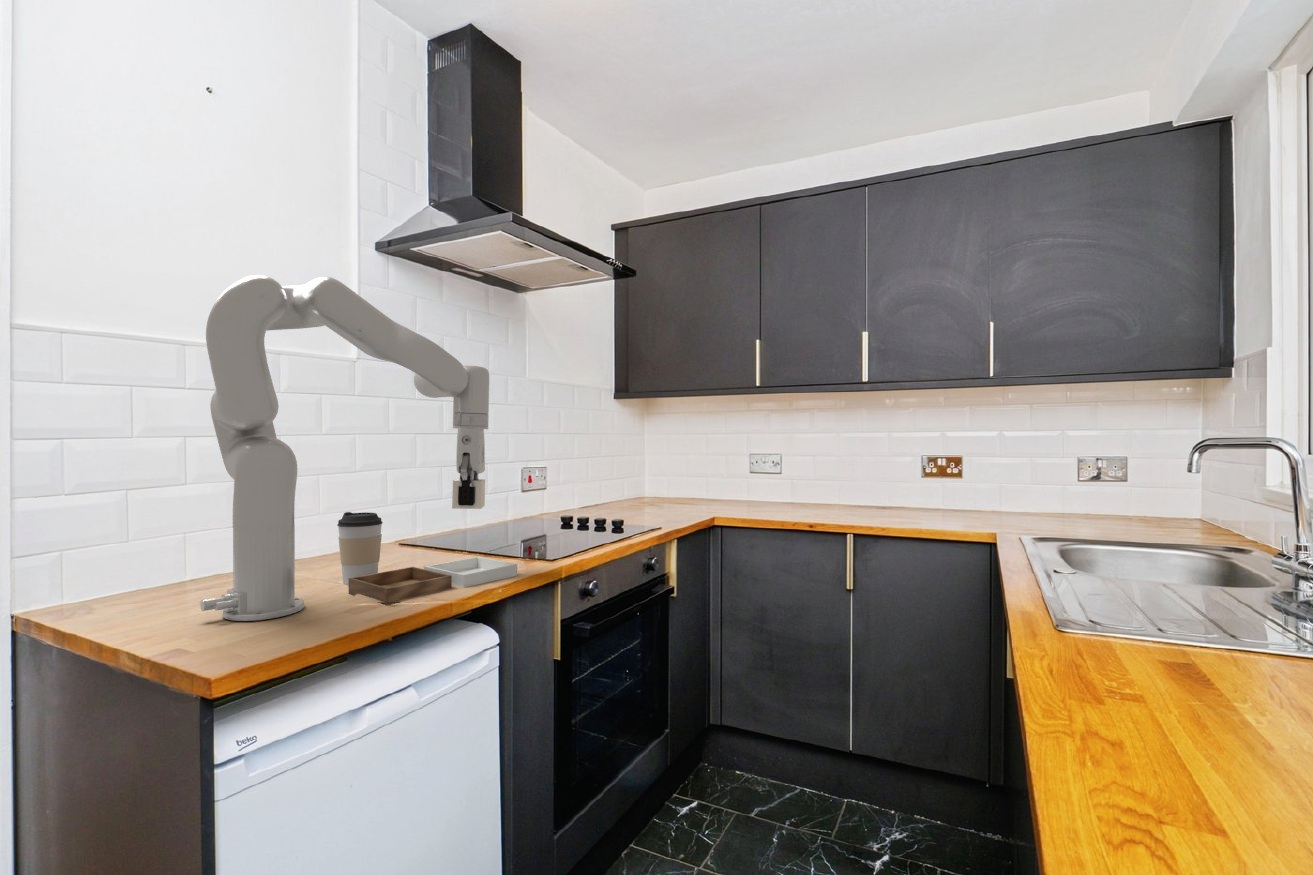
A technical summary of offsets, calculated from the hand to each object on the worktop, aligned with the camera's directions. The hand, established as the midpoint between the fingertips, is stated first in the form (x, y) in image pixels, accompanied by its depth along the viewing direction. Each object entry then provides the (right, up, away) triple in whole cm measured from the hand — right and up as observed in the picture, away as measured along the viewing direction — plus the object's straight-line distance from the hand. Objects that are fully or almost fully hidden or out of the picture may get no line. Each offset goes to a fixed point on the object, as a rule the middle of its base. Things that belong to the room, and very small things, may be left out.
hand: (468, 503), depth 142 cm
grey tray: (0, -17, +1) cm, 17 cm away
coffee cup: (-23, -17, -1) cm, 29 cm away
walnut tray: (-11, -17, -11) cm, 23 cm away
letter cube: (0, -1, 0) cm, 1 cm away
